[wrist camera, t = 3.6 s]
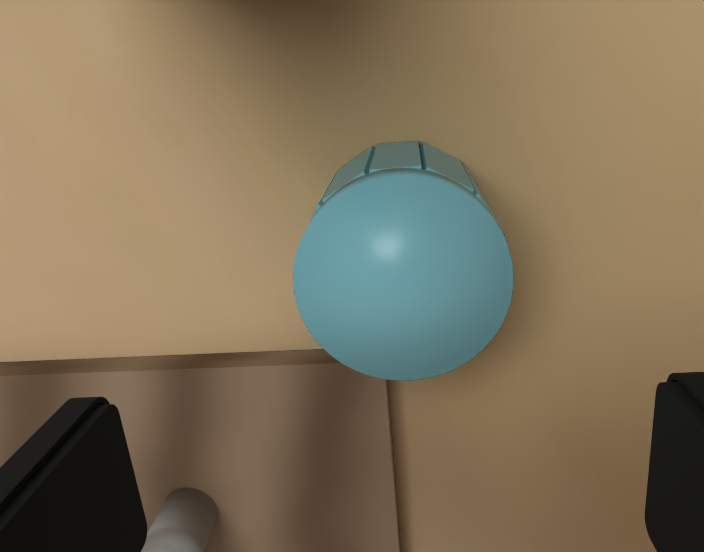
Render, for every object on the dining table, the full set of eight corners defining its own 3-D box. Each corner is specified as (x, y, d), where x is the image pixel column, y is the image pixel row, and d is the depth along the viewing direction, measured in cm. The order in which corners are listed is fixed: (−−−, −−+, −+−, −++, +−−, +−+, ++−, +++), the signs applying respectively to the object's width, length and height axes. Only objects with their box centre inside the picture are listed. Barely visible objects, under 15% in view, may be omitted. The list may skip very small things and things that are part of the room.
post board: (384, 346, 23) (378, 435, 18) (405, 604, 28) (405, 734, 23) (-29, 363, 25) (-146, 447, 20) (57, 601, 30) (-18, 720, 25)
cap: (484, 135, 20) (514, 167, 15) (486, 295, 22) (513, 377, 17) (313, 149, 21) (279, 184, 15) (330, 303, 23) (306, 384, 17)
